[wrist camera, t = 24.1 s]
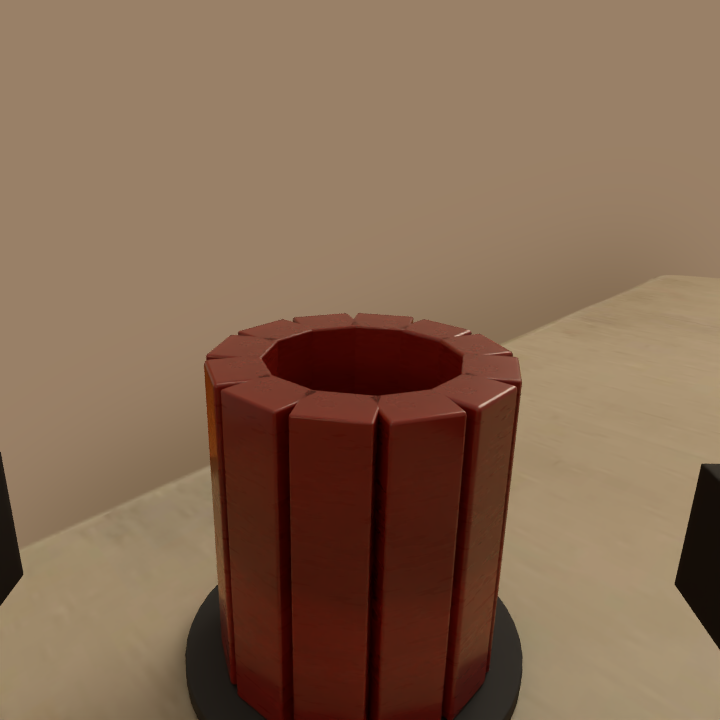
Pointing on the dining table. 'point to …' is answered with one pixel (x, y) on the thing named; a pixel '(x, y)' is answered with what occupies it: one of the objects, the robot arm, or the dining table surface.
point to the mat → (234, 716)
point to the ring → (359, 512)
